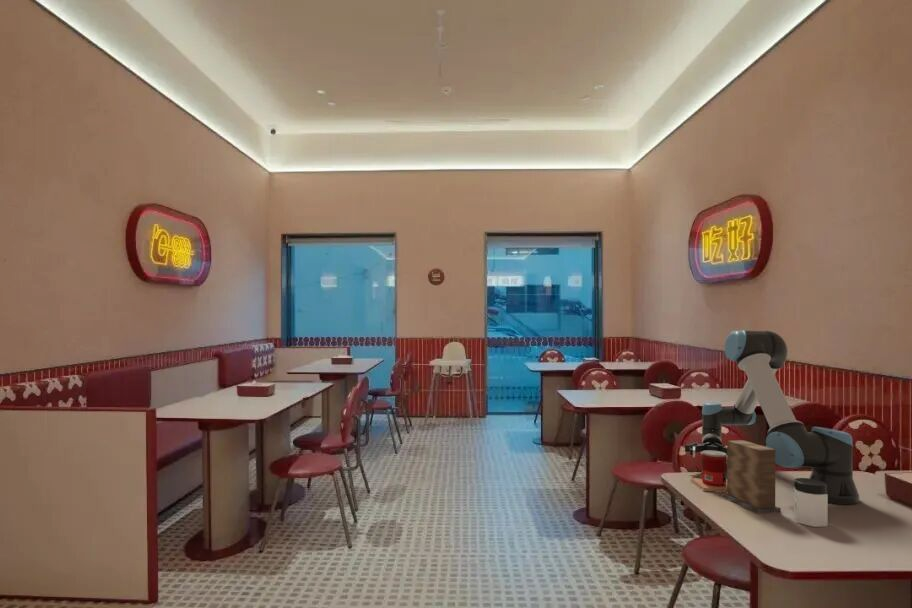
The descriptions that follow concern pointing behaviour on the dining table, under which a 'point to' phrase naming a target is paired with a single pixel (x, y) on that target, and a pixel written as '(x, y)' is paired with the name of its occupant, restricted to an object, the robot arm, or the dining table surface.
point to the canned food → (714, 468)
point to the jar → (810, 502)
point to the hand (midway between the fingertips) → (713, 455)
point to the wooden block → (751, 476)
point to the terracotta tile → (706, 487)
